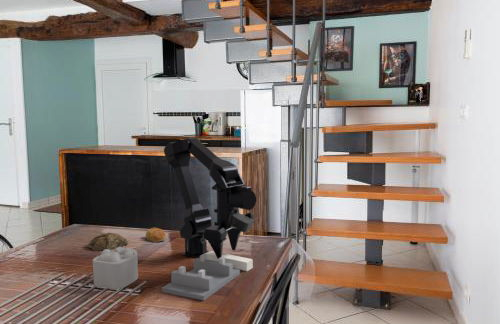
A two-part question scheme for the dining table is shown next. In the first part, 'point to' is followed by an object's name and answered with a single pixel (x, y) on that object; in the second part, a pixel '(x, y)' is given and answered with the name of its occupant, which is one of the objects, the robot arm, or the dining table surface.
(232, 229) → the robot arm
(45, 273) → the dining table surface
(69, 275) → the dining table surface
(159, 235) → the pastry
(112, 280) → the white lego brick
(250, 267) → the clay strip
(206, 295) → the grey pegged plate
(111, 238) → the mottled brown rock
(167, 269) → the dining table surface
